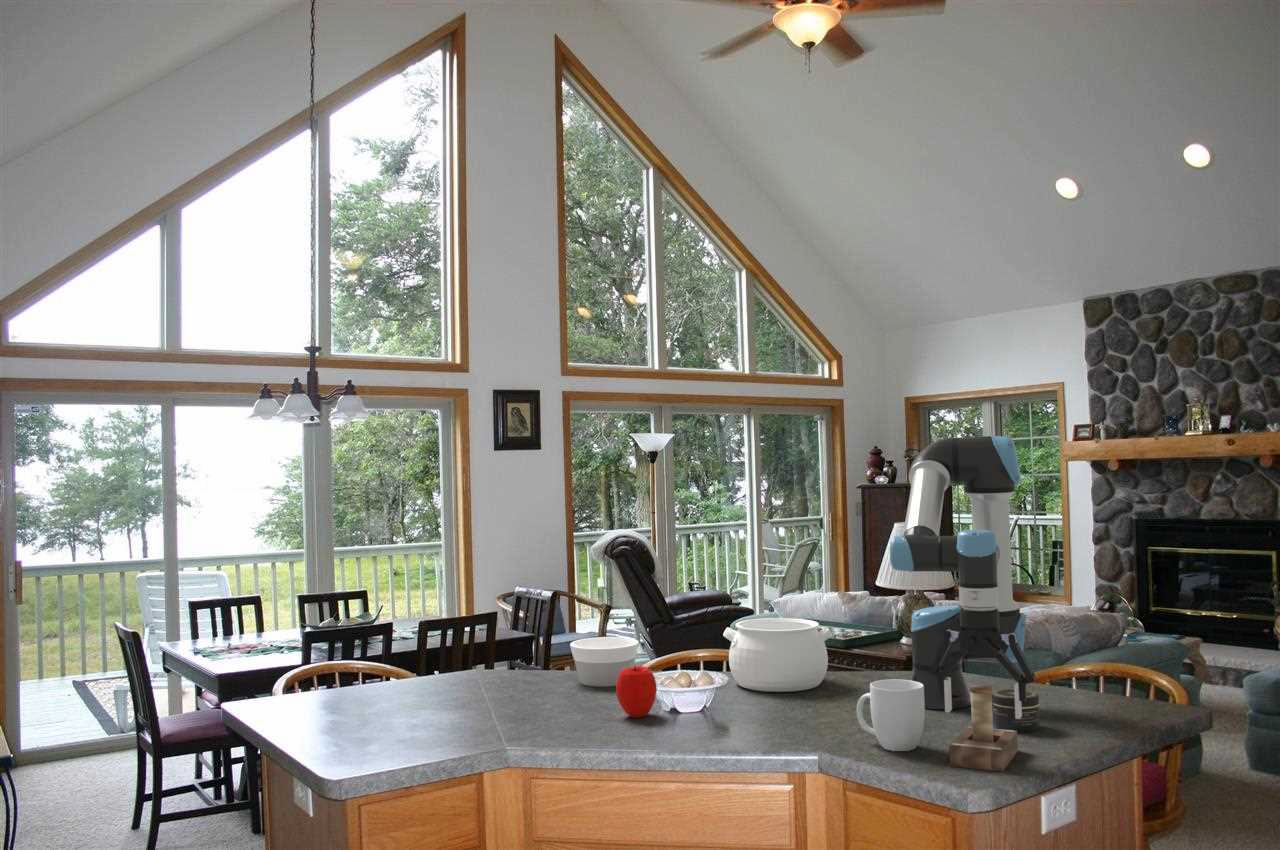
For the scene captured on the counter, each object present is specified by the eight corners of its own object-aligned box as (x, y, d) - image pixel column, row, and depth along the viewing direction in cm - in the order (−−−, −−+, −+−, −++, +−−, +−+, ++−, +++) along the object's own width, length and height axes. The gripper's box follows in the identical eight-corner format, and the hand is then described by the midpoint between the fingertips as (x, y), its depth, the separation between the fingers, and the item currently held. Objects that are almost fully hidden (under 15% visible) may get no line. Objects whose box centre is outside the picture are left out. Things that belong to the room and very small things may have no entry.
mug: (845, 746, 223) (843, 684, 224) (870, 735, 232) (868, 675, 232) (911, 758, 214) (909, 692, 214) (935, 745, 222) (933, 682, 223)
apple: (632, 709, 262) (631, 659, 263) (666, 714, 257) (664, 663, 257) (608, 717, 254) (607, 666, 255) (642, 722, 248) (640, 670, 249)
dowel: (970, 759, 212) (968, 688, 212) (975, 754, 215) (972, 684, 216) (992, 761, 210) (989, 690, 210) (996, 756, 213) (993, 686, 214)
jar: (1050, 730, 232) (1048, 695, 232) (1010, 735, 229) (1009, 699, 229) (1021, 720, 242) (1020, 686, 242) (983, 724, 239) (981, 690, 239)
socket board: (949, 765, 208) (949, 744, 208) (967, 745, 222) (966, 725, 222) (1003, 771, 203) (1002, 749, 203) (1017, 750, 217) (1017, 730, 217)
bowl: (569, 676, 305) (568, 638, 306) (636, 673, 308) (635, 635, 308) (572, 690, 286) (571, 650, 287) (643, 686, 288) (642, 646, 289)
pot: (836, 675, 296) (834, 617, 297) (831, 696, 271) (829, 632, 271) (731, 673, 303) (729, 616, 304) (717, 693, 277) (715, 631, 278)
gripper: (912, 607, 216) (915, 712, 216) (1041, 613, 204) (1046, 724, 204) (921, 602, 223) (925, 704, 222) (1047, 607, 211) (1052, 715, 210)
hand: (983, 714), depth 213 cm, fingers open, 13 cm apart
